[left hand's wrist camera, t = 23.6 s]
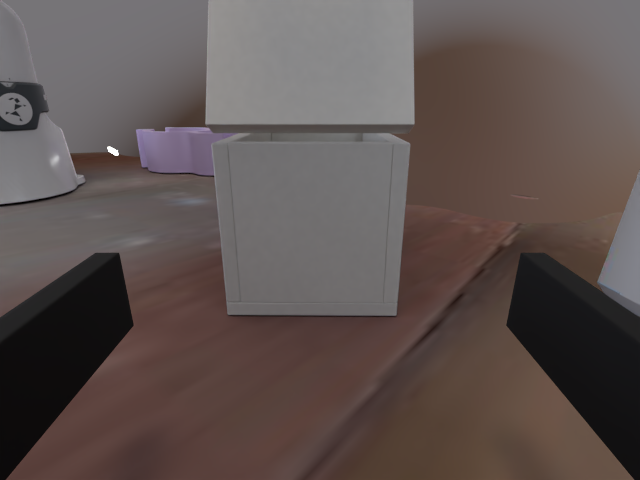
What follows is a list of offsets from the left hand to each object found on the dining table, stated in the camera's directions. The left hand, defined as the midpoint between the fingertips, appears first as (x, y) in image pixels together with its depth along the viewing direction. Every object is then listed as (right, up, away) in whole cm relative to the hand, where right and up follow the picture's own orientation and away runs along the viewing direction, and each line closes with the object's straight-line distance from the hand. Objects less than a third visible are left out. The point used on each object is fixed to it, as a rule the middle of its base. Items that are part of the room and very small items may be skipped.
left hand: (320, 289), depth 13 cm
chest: (0, 0, +18) cm, 18 cm away
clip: (-24, +15, +59) cm, 65 cm away
